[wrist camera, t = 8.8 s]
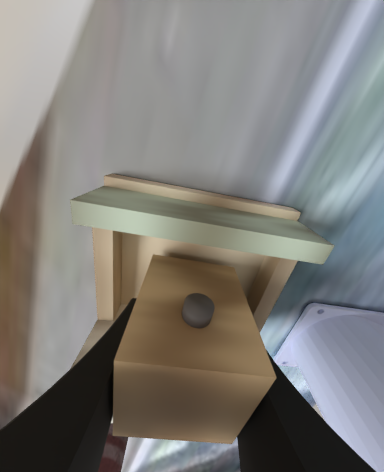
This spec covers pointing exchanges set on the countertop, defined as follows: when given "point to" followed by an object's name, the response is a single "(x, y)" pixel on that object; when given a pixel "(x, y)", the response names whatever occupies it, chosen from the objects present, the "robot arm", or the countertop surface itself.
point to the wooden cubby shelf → (188, 241)
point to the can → (113, 452)
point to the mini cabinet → (189, 356)
